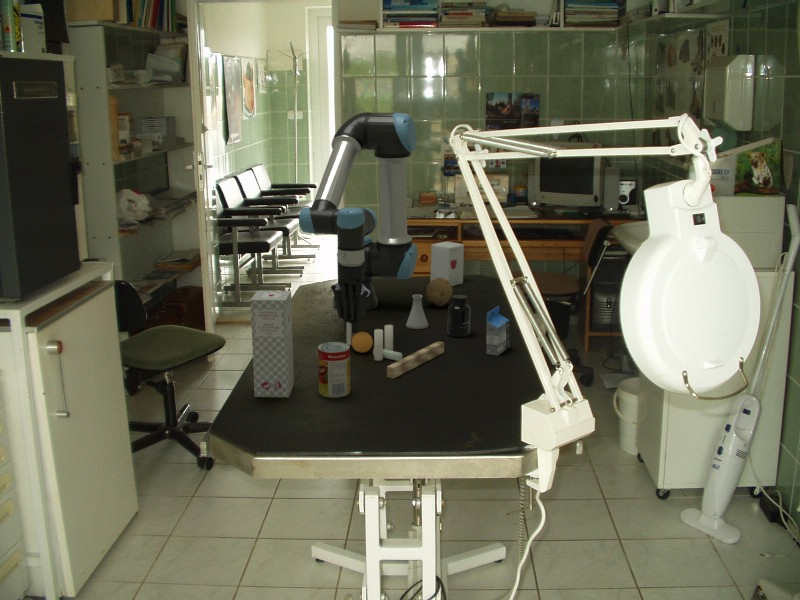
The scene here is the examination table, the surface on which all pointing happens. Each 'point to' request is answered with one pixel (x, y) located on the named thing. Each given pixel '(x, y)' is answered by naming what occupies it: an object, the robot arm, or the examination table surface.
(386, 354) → the front pin
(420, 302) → the flask
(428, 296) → the natural sponge
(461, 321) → the supplement bottle
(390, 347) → the pin
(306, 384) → the examination table surface
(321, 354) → the canned food
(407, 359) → the wooden bar
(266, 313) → the box
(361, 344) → the ball
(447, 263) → the supplement box
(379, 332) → the pin
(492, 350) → the label tape box
